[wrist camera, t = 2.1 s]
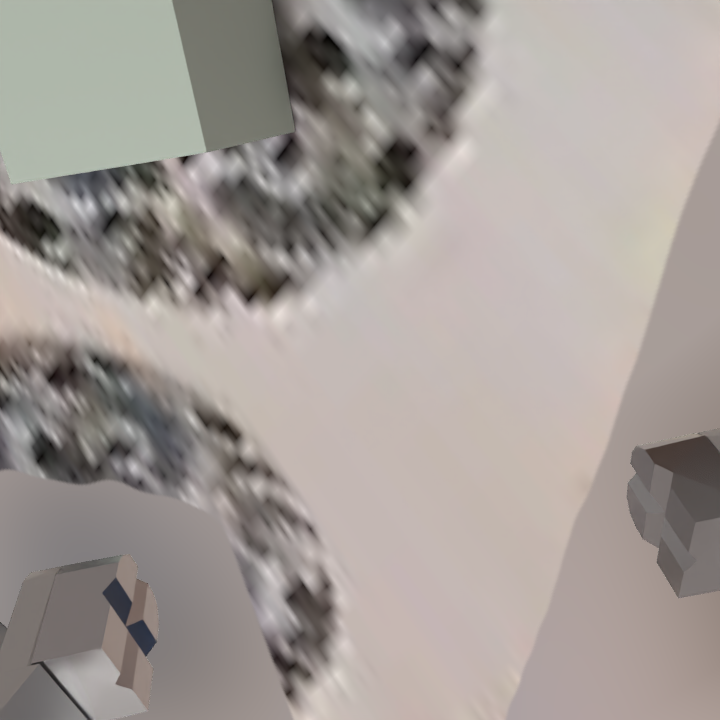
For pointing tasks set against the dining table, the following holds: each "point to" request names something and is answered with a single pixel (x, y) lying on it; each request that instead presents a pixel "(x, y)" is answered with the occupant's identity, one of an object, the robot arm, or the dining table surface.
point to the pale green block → (135, 82)
